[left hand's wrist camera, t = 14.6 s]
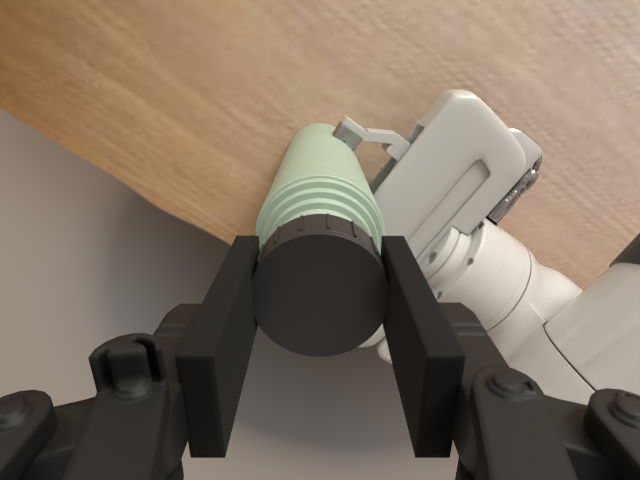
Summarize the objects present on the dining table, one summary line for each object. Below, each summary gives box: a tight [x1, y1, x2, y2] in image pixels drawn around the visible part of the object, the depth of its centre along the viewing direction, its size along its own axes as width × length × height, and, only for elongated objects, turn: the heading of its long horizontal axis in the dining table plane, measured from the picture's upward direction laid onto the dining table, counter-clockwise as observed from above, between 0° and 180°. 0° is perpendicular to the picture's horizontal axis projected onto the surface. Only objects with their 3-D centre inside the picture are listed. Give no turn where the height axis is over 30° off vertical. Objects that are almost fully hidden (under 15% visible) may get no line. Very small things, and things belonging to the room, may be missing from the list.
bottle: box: [255, 123, 385, 256], centre depth 24 cm, size 6×6×23 cm
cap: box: [252, 213, 389, 356], centre depth 14 cm, size 4×4×2 cm
